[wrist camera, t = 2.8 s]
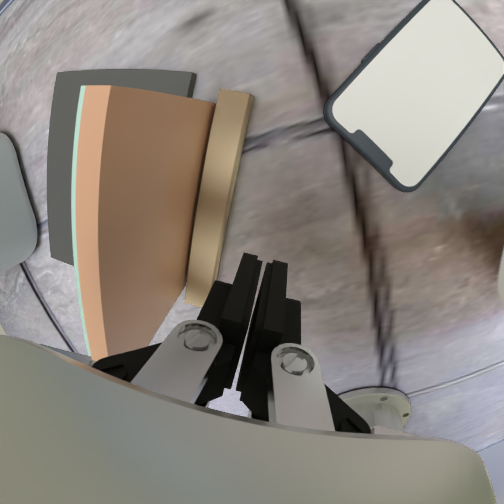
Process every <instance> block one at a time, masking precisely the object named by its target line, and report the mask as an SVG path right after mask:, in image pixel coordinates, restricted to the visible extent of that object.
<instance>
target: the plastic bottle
mask: <svg viewBox="0 0 504 504" xmlns="http://www.w3.org/2000/svg"><path fill="white" fill-rule="evenodd" d="M36 242H37V225H36V219H35V216H34V213H33V210H32V207H31V204H30V201H29V198H28V194H27V191H26V188H25V184H24V181H23V177H22V174H21V170H20V166H19V162H18V158H17V154H16V151H15V148H14V146H13V144H12V142H11V140H10V139H9V138H8V137H7V136H6V135H5V134H3V133H1V132H0V275H1V274H2V273H4V272H6V271H7V270H9V269H11V268H13V267H14V266H16V265H18V264H20V263H21V262H23V261H25V260H26V259H28V258H29V257H30V256H31V255H32V253H33V251H34V249H35V246H36Z"/></svg>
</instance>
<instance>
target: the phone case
mask: <svg viewBox="0 0 504 504" xmlns="http://www.w3.org/2000/svg"><path fill="white" fill-rule="evenodd" d="M503 79H504V57H503V55H502V54H501V53H500V51H499V50H498V49H497V48H496V46H495V45H494V44H493V42H492V41H491V40H490V39H489V38H488V36H487V35H486V34H485V33H484V32H483V30H482V29H481V28H480V27H479V26H478V25H477V23H476V22H475V21H474V20H473V19H472V18H471V17H470V16H469V15H468V14H467V13H466V12H465V10H464V9H463V8H462V7H461V6H460V5H459V4H458V3H457V2H456V1H455V0H422V1H421V2H420V3H419V4H418V5H417V6H416V7H415V8H414V9H413V10H412V11H411V12H410V13H409V14H408V15H407V16H406V17H405V18H404V19H403V20H402V21H401V22H400V23H399V24H398V25H397V26H396V27H395V28H394V29H393V30H392V31H391V32H390V34H389V35H388V36H387V37H386V38H385V39H384V40H383V41H382V42H381V43H378V44H377V45H376V46H375V47H374V48H373V49H372V50H371V51H370V52H369V53H368V54H367V55H366V56H365V57H364V58H363V60H362V61H361V64H360V65H359V66H358V67H357V68H356V69H355V70H354V72H353V73H352V74H351V75H350V76H349V77H348V78H347V79H346V80H345V81H344V82H343V84H342V85H341V86H340V87H339V88H338V89H337V90H336V91H335V92H334V94H333V95H332V96H331V97H330V98H329V99H328V100H327V102H326V103H325V105H324V109H323V114H324V118H325V120H326V122H327V123H328V125H329V126H330V127H332V128H333V129H334V130H335V131H336V132H337V133H338V134H339V135H341V136H342V137H343V138H344V139H345V140H346V141H347V142H348V143H349V144H351V145H352V146H353V147H354V148H355V149H356V150H357V151H358V152H359V153H360V154H361V155H362V156H363V157H364V158H365V159H366V160H367V161H368V162H369V163H371V164H372V165H373V166H374V167H375V168H376V169H377V170H378V171H379V172H380V173H381V174H382V176H383V177H384V178H385V179H386V180H387V181H388V182H389V183H390V184H391V185H392V186H393V187H395V188H396V189H398V190H400V191H402V192H412V191H414V190H416V189H417V188H418V187H419V186H420V185H421V184H422V183H423V182H424V180H425V179H426V178H427V177H428V176H429V175H430V174H431V172H432V171H433V170H434V169H435V168H436V167H437V165H438V164H439V163H440V162H441V161H442V159H443V158H444V157H445V156H446V155H447V153H448V152H449V151H450V150H451V148H452V147H453V146H454V145H455V144H456V142H457V141H458V140H459V139H460V137H461V136H462V135H463V133H464V132H465V131H466V130H467V128H468V127H469V126H470V124H471V123H472V122H473V121H474V119H475V118H476V117H477V115H478V114H479V113H480V111H481V110H482V109H483V107H484V106H485V105H486V103H487V102H488V100H489V99H490V98H491V96H492V95H493V94H494V92H495V91H496V89H497V88H498V86H499V85H500V84H501V82H502V81H503Z"/></svg>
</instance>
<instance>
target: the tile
mask: <svg viewBox="0 0 504 504" xmlns="http://www.w3.org/2000/svg"><path fill="white" fill-rule="evenodd" d="M214 109H215V103H211V102H206V101H202V100H197V99H192V98H188V97H183V96H178V95H172V94H167V93H161V92H155V91H149V90H143V89H136V88H128V87H120V86H112V85H86V86H81V89H80V95H79V102H78V109H77V117H76V125H75V135H74V146H73V160H72V185H71V217H72V242H73V257H74V269H75V278H76V287H77V295H78V302H79V309H80V316H81V322H82V327H83V333H84V338H85V343H86V348H87V353H88V356H91V357H92V360H94V361H98V360H99V359H102V358H105V357H108V356H112V355H116V354H120V353H124V352H128V351H132V350H136V349H140V348H144V347H147V346H148V345H149V343H150V342H151V340H152V338H153V337H154V335H155V334H156V332H157V330H158V329H159V327H160V325H161V324H162V322H163V321H164V319H165V317H166V316H167V314H168V313H169V311H170V309H171V308H172V306H173V305H174V303H175V301H176V300H177V298H178V297H179V295H180V294H181V292H182V290H183V289H184V287H185V286H186V279H187V270H188V262H189V255H190V247H191V240H192V233H193V226H194V219H195V213H196V206H197V200H198V194H199V188H200V182H201V176H202V170H203V165H204V159H205V154H206V149H207V143H208V138H209V133H210V128H211V123H212V118H213V113H214Z"/></svg>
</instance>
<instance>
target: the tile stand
mask: <svg viewBox="0 0 504 504" xmlns="http://www.w3.org/2000/svg"><path fill="white" fill-rule="evenodd" d="M253 100H254V96H252V95H251V94H249V93H243V92H238V91H232V90H225V89H220V90H219V94H218V99H217V103H216V104H215V109H214V113H213V118H212V123H211V128H210V133H209V138H208V143H207V149H206V154H205V159H204V165H203V170H202V176H201V182H200V188H199V194H198V200H197V206H196V213H195V219H194V226H193V233H192V240H191V247H190V255H189V262H188V270H187V279H186V283H187V284H186V293H185V303H188V304H191V305H195V306H198V307H203V305H204V303H205V300H206V298H207V296H208V294H209V292H210V289H211V287H212V285H213V283H214V281H215V280H217V275H218V269H219V264H220V258H221V253H222V248H223V243H224V237H225V232H226V227H227V222H228V217H229V212H230V207H231V202H232V197H233V192H234V187H235V183H236V178H237V173H238V168H239V163H240V159H241V154H242V149H243V145H244V140H245V136H246V131H247V127H248V122H249V118H250V113H251V109H252V105H253Z"/></svg>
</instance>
